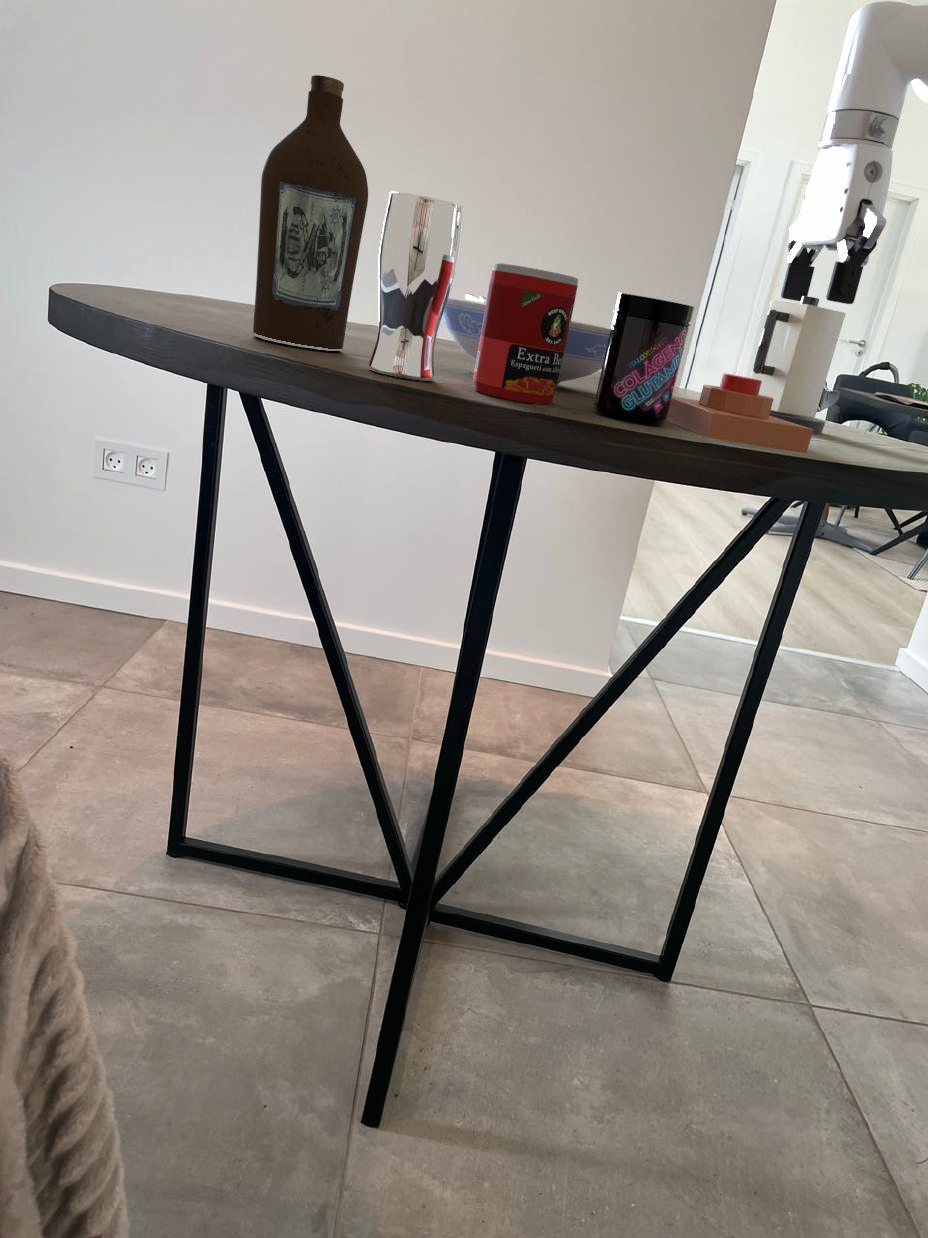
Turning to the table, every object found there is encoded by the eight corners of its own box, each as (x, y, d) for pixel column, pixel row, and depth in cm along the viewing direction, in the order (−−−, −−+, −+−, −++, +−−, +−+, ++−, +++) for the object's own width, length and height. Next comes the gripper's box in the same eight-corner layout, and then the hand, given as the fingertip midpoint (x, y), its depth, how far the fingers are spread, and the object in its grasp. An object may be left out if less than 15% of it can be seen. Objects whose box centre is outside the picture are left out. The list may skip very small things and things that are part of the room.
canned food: (507, 401, 80) (532, 267, 76) (453, 385, 86) (475, 259, 82) (571, 408, 84) (598, 281, 81) (516, 392, 90) (539, 273, 87)
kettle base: (713, 410, 115) (716, 398, 115) (791, 423, 118) (794, 412, 117) (756, 425, 105) (759, 411, 105) (840, 439, 108) (844, 426, 107)
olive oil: (245, 331, 101) (269, 75, 93) (341, 347, 104) (373, 100, 96) (247, 340, 92) (275, 55, 83) (353, 357, 95) (390, 83, 86)
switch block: (744, 430, 95) (755, 391, 94) (806, 453, 84) (819, 409, 83) (655, 416, 93) (664, 375, 91) (707, 437, 82) (719, 391, 80)
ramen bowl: (641, 410, 96) (660, 328, 93) (422, 371, 94) (436, 286, 92) (603, 387, 119) (618, 322, 117) (428, 355, 118) (439, 288, 115)
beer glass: (408, 372, 90) (434, 206, 85) (453, 385, 85) (483, 210, 80) (348, 365, 85) (372, 189, 81) (392, 378, 81) (420, 193, 76)
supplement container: (589, 415, 81) (616, 291, 78) (593, 409, 87) (618, 294, 84) (665, 431, 80) (696, 306, 77) (664, 424, 87) (693, 308, 83)
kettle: (792, 410, 116) (823, 302, 112) (828, 419, 111) (862, 306, 107) (727, 400, 111) (757, 287, 107) (761, 409, 106) (794, 291, 102)
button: (745, 396, 89) (750, 377, 89) (763, 401, 86) (769, 382, 85) (711, 390, 88) (716, 371, 88) (729, 395, 85) (734, 376, 84)
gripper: (939, 133, 94) (889, 308, 100) (842, 153, 110) (803, 303, 116) (875, 118, 93) (828, 297, 98) (786, 141, 108) (750, 294, 114)
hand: (815, 300), depth 107 cm, fingers open, 9 cm apart
